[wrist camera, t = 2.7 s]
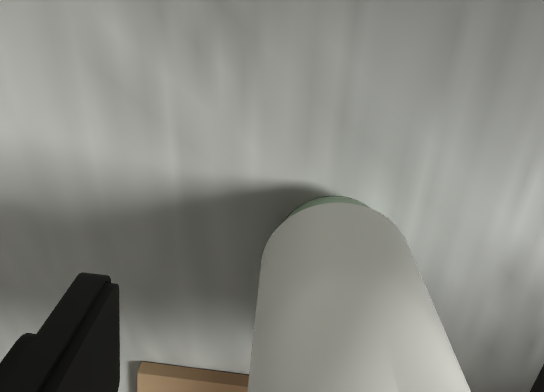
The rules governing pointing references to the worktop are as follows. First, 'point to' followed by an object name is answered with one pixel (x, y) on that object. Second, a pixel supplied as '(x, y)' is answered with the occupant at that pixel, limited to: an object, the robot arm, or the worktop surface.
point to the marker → (346, 308)
